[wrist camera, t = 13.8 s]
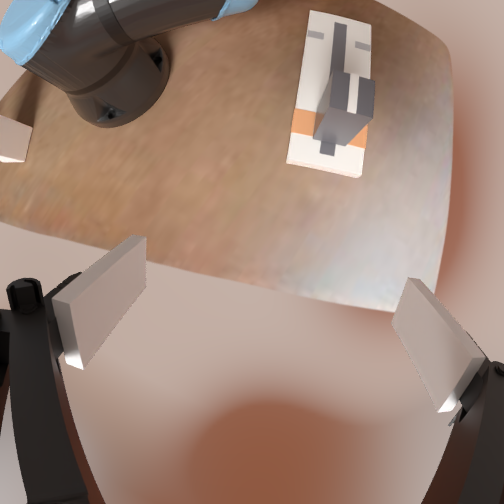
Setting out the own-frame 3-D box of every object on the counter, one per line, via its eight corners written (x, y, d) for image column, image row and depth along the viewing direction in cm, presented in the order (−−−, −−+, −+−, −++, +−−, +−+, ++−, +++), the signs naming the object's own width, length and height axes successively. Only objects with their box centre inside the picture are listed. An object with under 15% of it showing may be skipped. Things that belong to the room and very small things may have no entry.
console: (357, 178, 36) (362, 175, 33) (285, 162, 36) (286, 158, 34) (368, 32, 34) (371, 24, 32) (308, 17, 34) (309, 9, 32)
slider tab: (345, 146, 33) (373, 117, 23) (312, 139, 33) (329, 106, 23) (348, 116, 33) (375, 79, 23) (316, 108, 33) (333, 68, 23)
